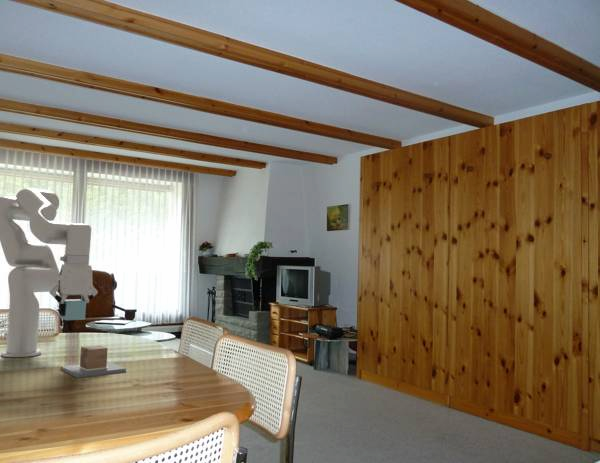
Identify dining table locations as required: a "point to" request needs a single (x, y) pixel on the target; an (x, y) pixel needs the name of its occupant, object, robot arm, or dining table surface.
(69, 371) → the grey flat slab
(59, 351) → the dining table surface
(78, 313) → the teal block
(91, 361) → the walnut block
